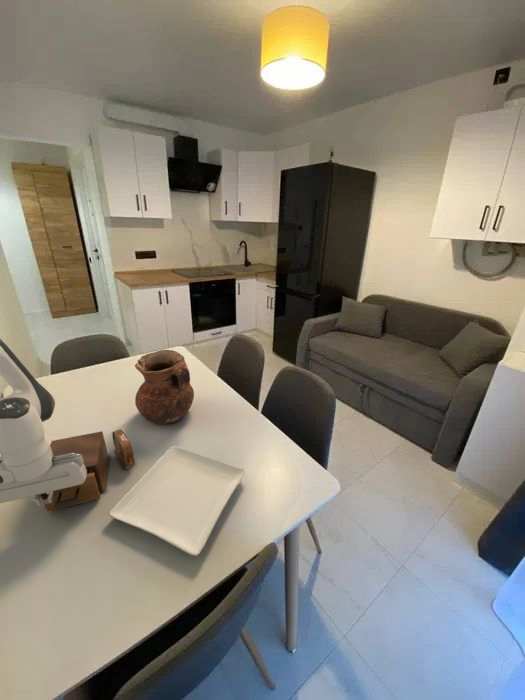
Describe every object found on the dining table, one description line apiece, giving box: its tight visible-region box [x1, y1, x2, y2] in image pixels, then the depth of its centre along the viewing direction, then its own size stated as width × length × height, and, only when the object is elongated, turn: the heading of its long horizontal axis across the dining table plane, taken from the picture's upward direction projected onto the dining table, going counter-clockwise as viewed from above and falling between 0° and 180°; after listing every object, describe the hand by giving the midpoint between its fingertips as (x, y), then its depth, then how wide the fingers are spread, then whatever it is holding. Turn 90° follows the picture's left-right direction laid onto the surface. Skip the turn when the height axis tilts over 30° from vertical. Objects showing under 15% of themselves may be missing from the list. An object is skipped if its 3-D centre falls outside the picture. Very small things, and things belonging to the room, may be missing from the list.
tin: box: [111, 429, 136, 469], centre depth 94 cm, size 15×3×8 cm, turn 40°
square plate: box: [107, 445, 246, 557], centre depth 82 cm, size 27×27×4 cm
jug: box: [134, 349, 195, 425], centre depth 113 cm, size 22×21×25 cm
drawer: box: [40, 468, 101, 513], centre depth 81 cm, size 18×12×9 cm
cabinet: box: [50, 430, 109, 494], centre depth 85 cm, size 15×14×11 cm
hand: (46, 502), depth 74 cm, fingers closed, pressing on drawer
